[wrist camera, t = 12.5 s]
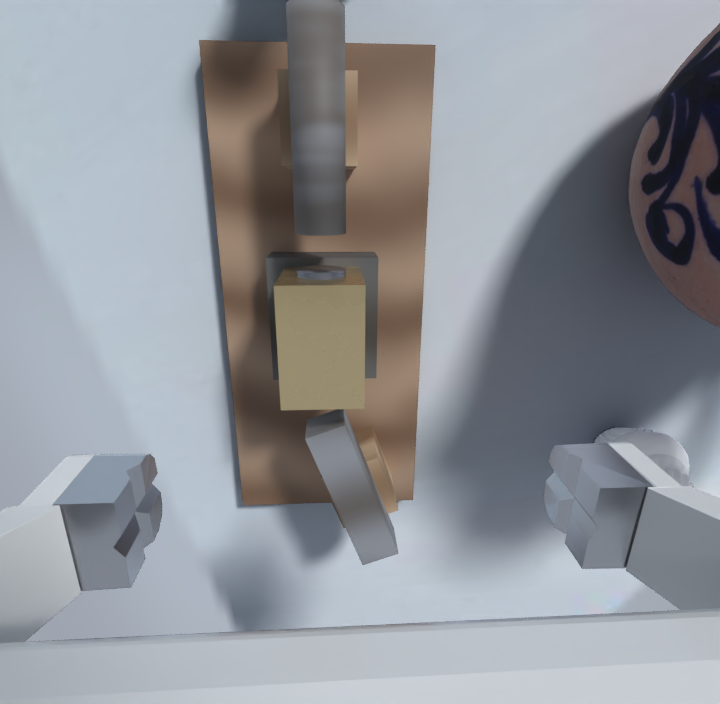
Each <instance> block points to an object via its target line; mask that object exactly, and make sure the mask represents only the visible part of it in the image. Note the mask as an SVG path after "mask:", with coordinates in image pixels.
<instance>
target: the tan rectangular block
mask: <svg viewBox="0 0 720 704" xmlns="http://www.w3.org/2000/svg"><path fill="white" fill-rule="evenodd" d="M365 295H366V285H365V282H364V279H363V276H362V273H361V270H360V267H340V266H332V265H312V266H304V267H285V268H284V269H283V271H282V273H281V274H280V276H279V278H278V279H277V281H276V282H275V284H274V302H275V319H276V337H277V354H278V371H279V389H280V406H281V410H326V409H365Z"/></svg>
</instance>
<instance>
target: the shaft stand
mask: <svg viewBox="0 0 720 704" xmlns="http://www.w3.org/2000/svg"><path fill="white" fill-rule="evenodd" d="M286 26H287V42H266V41H218V40H199V45H200V56H201V66H202V77H203V87H204V98H205V108H206V119H207V130H208V140H209V151H210V161H211V172H212V182H213V193H214V204H215V214H216V225H217V235H218V246H219V257H220V267H221V278H222V288H223V299H224V309H225V320H226V331H227V341H228V352H229V362H230V373H231V383H232V394H233V405H234V415H235V426H236V436H237V447H238V457H239V468H240V479H241V489H242V500H243V505H266V504H298V503H330V502H332V504H333V506H334V508H335V510H336V512H337V514H338V517H339V519H340V521H341V523H342V525H343V527H344V528H346V530H347V532H348V534H349V536H350V538H351V541H352V543H353V545H354V547H355V549H356V551H357V554H358V556H359V558H360V560H361V562H362V565H365V564H368V563H371V562H374V561H377V560H380V559H383V558H386V557H389V556H392V555H395V554H398V549H397V544H396V538H395V533H394V527H393V525H392V523H391V520H390V518H389V515H388V513H391V512H394V511H397V510H398V505H397V500H413V488H414V467H415V447H416V427H417V407H418V387H419V367H420V347H421V326H422V306H423V286H424V266H425V246H426V226H427V206H428V186H429V165H430V145H431V125H432V105H433V85H434V65H435V45H412V44H363V43H345V6H344V4H343V3H342V2H340V1H338V0H289V1H287V3H286ZM312 265H332V266H340V267H360V270H361V273H362V276H363V279H364V282H365V285H366V295H365V409H326V410H281V406H280V389H279V371H278V354H277V337H276V319H275V302H274V284H275V282H276V281H277V279H278V278H279V276H280V274H281V273H282V271H283V269H284V268H285V267H304V266H312Z"/></svg>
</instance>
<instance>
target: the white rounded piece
mask: <svg viewBox="0 0 720 704" xmlns="http://www.w3.org/2000/svg"><path fill="white" fill-rule="evenodd" d="M622 441H625V442H628V443H632V444H633V445H634V446H635V447H637V448H638V449H639V450H640V451H641V452H642V453H644V454H645V455H646V456H647V457H648V458H649V459H651V460H652V461H653V462H654V463H655V464H656V465H658V466H659V467H660V468H661V469H662V470H663V471H665V472H666V473H667V474H668V475H669V476H670V477H672V478H673V479H674V480H675V481H676V482H677V483H679V484H680V485H681V486H690V487H693V488H694V485H693V484H692V483H691V482H690V481H689V469H690V464H689V458H688V456H687V454H686V452H685V450H684V449H683V447H682V446H681V445H680V444H679V443H678V442H677V441H676V440H675V439H674V438H672V437H670V436H668V435H666V434H663V433H658V432H653V430H646V429H641V428H621V427H619V428H618V427H615V428H611V429H610V430H606V431H605V432H603V433H602V434H599V436H598V437H596V439H595V440H594V443H606V442H622Z"/></svg>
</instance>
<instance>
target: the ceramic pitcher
mask: <svg viewBox="0 0 720 704" xmlns="http://www.w3.org/2000/svg"><path fill="white" fill-rule="evenodd" d="M628 187H629V205H630V211H631V217H632V221H633V225H634V229H635V232H636V235H637V237H638V240H639V243H640V245H641V248H642V251H643V253H644V255H645V257H646V259H647V261H648V262H649V264H650V266H651V267H652V269H653V271H654V272H655V274H656V275H657V276H658V278H659V279H660V281H661V282H662V283H663V285H664V286H665V288H666V289H667V290H668V291H669V292H670V293H671V294H672V295H673V296H674V297H676V298H677V299H678V300H679V301H680V302H681V303H682V304H683V305H684V306H685V307H687V308H688V309H689V310H691V311H692V312H694V313H695V314H697V315H698V316H700V317H701V318H703V319H705V320H706V321H708V322H710V323H712V324H714V325H716V326H718V327H720V24H719V25H718V26H717V27H716V28H715V29H714V30H713V31H712V32H711V33H710V34H709V35H708V36H707V37H706V38H705V39H704V40H703V41H702V42H701V43H700V44H699V45H698V46H697V47H696V48H695V49H694V51H693V52H692V53H691V54H690V55H689V57H688V58H687V59H686V60H685V61H684V63H683V64H682V65H681V66H680V67H679V68H678V70H677V71H676V72H675V74H674V75H673V76H672V78H671V79H670V81H669V82H668V83H667V85H666V86H665V88H664V89H663V90H662V92H661V93H660V95H659V97H658V98H657V100H656V102H655V104H654V106H653V108H652V109H651V111H650V113H649V115H648V117H647V119H646V122H645V124H644V126H643V129H642V132H641V134H640V137H639V140H638V143H637V145H636V148H635V151H634V154H633V159H632V164H631V171H630V179H629V185H628Z"/></svg>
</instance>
